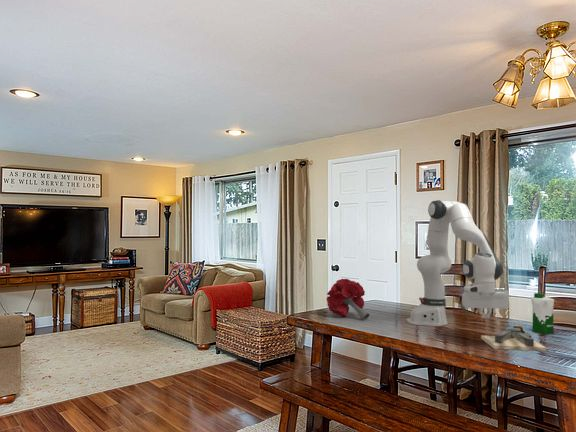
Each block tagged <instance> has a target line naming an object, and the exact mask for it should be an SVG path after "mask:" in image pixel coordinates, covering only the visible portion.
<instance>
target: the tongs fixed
mask: <svg viewBox="0 0 576 432" xmlns="http://www.w3.org/2000/svg"><path fill="white" fill-rule="evenodd" d="M505 329H506V330H505V331H510V338H515V331H521V329H519V328H513V327H506V328H505ZM516 339H517V340H519V341H521V342H522V343H524V344H525V345H527V346H534V341H535V340H534V338H532V337H531V338H530V337H528V336H526V335H525V334H523V333H521V332H516Z"/></svg>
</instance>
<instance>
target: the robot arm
mask: <svg viewBox="0 0 576 432" xmlns="http://www.w3.org/2000/svg"><path fill="white" fill-rule="evenodd" d="M427 211H428V212H427V213H428V215H429V217H430V219H429V223H428V226H427V227H428V229H427V236H426V245H427V246H428V248H429V254H426V255H423V256H422V257H419V259H418V260H417V262H416V267H417V269H418V272H420V273H421V277H422V280H423V284H424V285H423V287H424V290H423V291H424V293H423V294H424V296H423V297H421V296H420V297H419V298H418V300H419V301H420V304H419V305H417V306H416V307H414V308H413V309H412V310H411V312H410V317H407V318H406V322H407V323H408V324H411V325H419V326H430V327H431V326H432V327H442V326H447V325H449V323H448V320H447V314H446V307H447V306H446V305H447V303H446V301H447V300H446V297H445V295H446V291H445V288H446V287H445V283H444V282H443V281H442V277H441V274H444V273H445V272H448V271H449V270H451V268H452V260H451V259H450V257H449V251H448V237H449V228H450V226H451V230H452V233H453V234H454V236H455V237H457V238H458V239H460V240H463V241H465V242H469V243H471V244H473V245H475V246H477V248H478V249H479V250H480V252H477V253H475V254H474V256H473V257H472V258H469V259H466V260H465V261H464V262H463V263H462V268H461V271H462V275H464V277H466V278H467V279H471V280H474V283H471V284H467V285H465V286H463V293H462V296H461V306H462V307H463V308H466V309H478V311H479V313H480V314H481V318H482V319H490V314H491V313H492V310H493V309H505V310H507V309H509V308H510V301H509V291H508V289H506V288H505V287H504V288H503V287H500V288H499V287H496V281H497V280H498V279H499V278H500V277H502V275H503V273H504V267H503V264H502V263H501V261H500V260H499V258H498V257H497V254H495V251H494V248H493V247H492V245H491V243H490V241H489V239H488V237H487V236H486V234H485V232H484V231H482V230H480V229H479V227H477V225H476V224H475V221H474V219H473V215H472V213H471V211H470V208H469V205H468V204H467V203H465V202H462V201H456V200H440V199H435V200H432V201H431V202H430V203H429V205H428V208H427ZM484 309H486V310H487V311H486V313H484Z"/></svg>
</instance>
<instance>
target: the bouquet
mask: <svg viewBox="0 0 576 432" xmlns="http://www.w3.org/2000/svg"><path fill="white" fill-rule="evenodd" d="M326 295H327V296H326V304H327V307H328V310H329V311H330V312H332V313H333V314H336V315H338V316H340V317H342V318H346V317H347V316H348V315H347V314H348V313H349V312H350V311H349V310H350V307H349V306H351V308H353V309H354V310H355V311H356V313H357V314H358V316H359V318H361V320H363V321H366V320H367V319H368V318H369V317H370V313H369V312H368V311H366V310H365V309H363V308H364V306H365V300H364V298H363V297H364V296H365V295H366V293H365V290H364V287H363V286H362V285H361V284H360V283H359V282H357V281H355V280H352V279H349V278H341V279H340V278H339V279H338V280H336V282H334V283H333V284H332V285H331V287H330V289H329V291H328V292H327V293H326Z"/></svg>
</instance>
